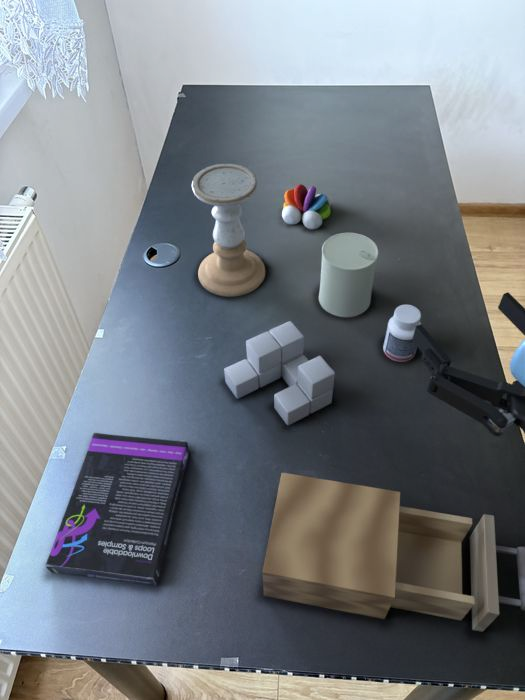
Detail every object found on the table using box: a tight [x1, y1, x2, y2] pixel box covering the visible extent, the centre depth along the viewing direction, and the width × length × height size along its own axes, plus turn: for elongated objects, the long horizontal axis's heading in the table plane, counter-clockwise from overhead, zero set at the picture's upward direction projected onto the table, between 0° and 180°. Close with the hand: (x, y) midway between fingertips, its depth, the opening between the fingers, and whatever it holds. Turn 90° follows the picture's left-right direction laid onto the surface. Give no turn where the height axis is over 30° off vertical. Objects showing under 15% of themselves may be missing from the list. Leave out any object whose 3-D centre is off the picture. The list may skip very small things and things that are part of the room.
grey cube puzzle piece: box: [223, 320, 336, 426], centre depth 89 cm, size 12×12×8 cm
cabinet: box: [262, 472, 401, 620], centre depth 73 cm, size 15×13×9 cm
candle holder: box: [191, 163, 266, 298], centre depth 102 cm, size 12×12×20 cm
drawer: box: [390, 505, 525, 633], centre depth 71 cm, size 18×11×7 cm, turn 79°
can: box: [318, 232, 379, 318], centre depth 100 cm, size 9×9×12 cm
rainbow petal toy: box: [281, 183, 331, 230], centre depth 117 cm, size 8×10×7 cm
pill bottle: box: [382, 304, 422, 363], centre depth 94 cm, size 5×5×9 cm
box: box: [45, 432, 190, 587], centre depth 79 cm, size 14×4×20 cm
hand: (460, 315), depth 78 cm, fingers open, 13 cm apart
